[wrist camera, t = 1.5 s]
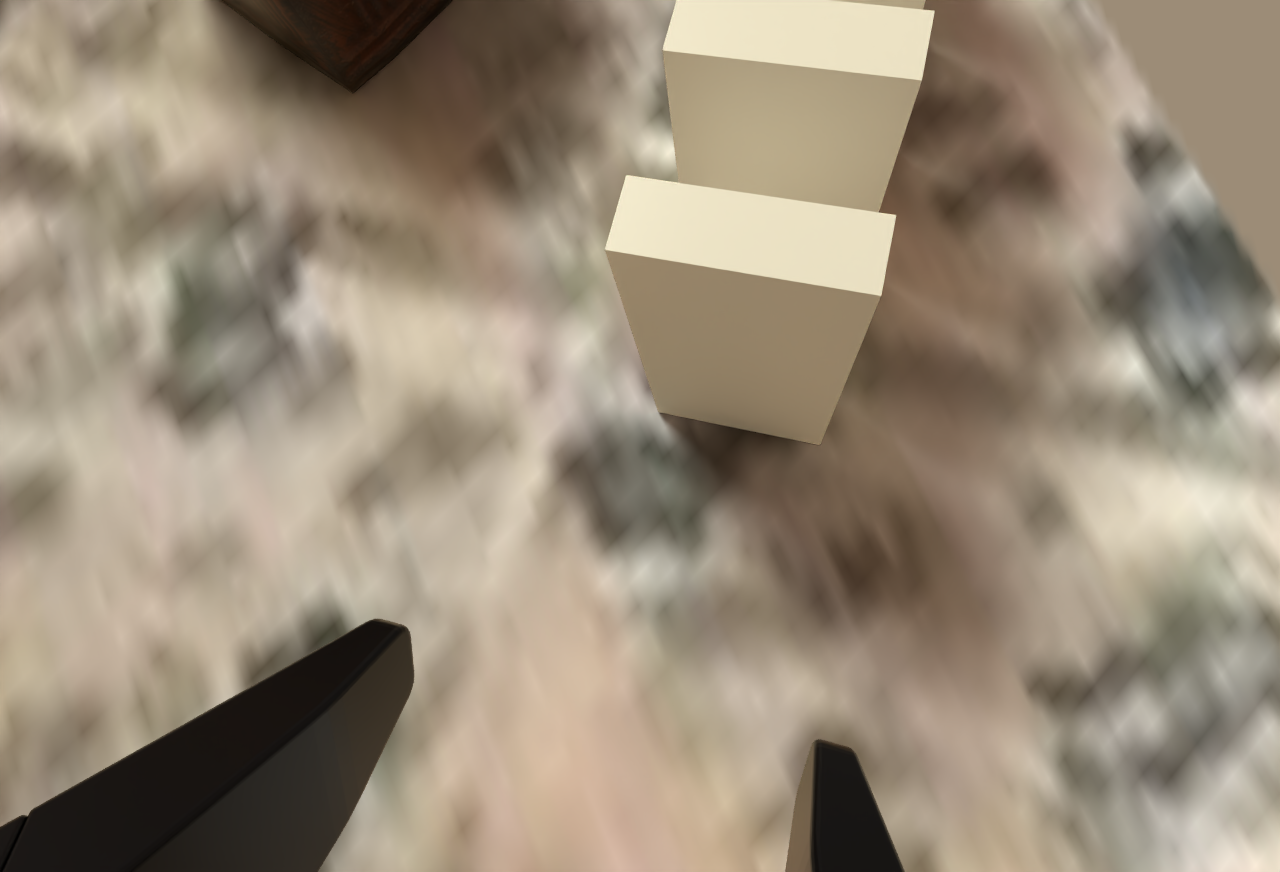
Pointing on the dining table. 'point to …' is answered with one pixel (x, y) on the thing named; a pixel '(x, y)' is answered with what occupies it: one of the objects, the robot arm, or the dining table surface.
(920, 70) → the domino
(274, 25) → the dark brown boxy piece
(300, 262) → the dining table surface
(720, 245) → the domino
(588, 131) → the dining table surface
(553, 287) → the dining table surface
